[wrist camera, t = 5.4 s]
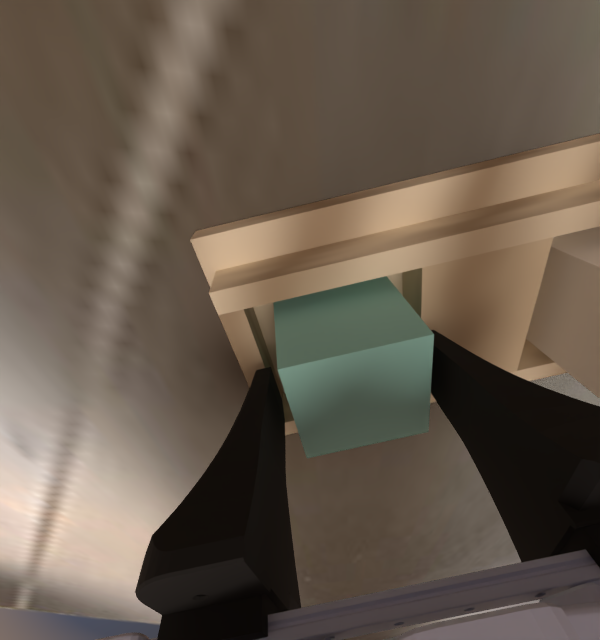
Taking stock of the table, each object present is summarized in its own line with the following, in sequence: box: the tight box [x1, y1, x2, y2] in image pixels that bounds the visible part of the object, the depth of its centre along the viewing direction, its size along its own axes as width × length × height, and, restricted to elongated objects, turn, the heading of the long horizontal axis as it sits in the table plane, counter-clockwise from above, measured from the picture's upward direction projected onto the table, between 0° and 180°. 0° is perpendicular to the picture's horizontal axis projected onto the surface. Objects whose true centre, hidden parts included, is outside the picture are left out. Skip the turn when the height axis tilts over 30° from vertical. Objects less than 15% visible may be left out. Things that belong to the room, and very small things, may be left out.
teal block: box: [273, 276, 434, 458], centre depth 13 cm, size 5×5×5 cm
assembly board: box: [191, 134, 600, 435], centre depth 15 cm, size 22×12×3 cm, turn 102°
